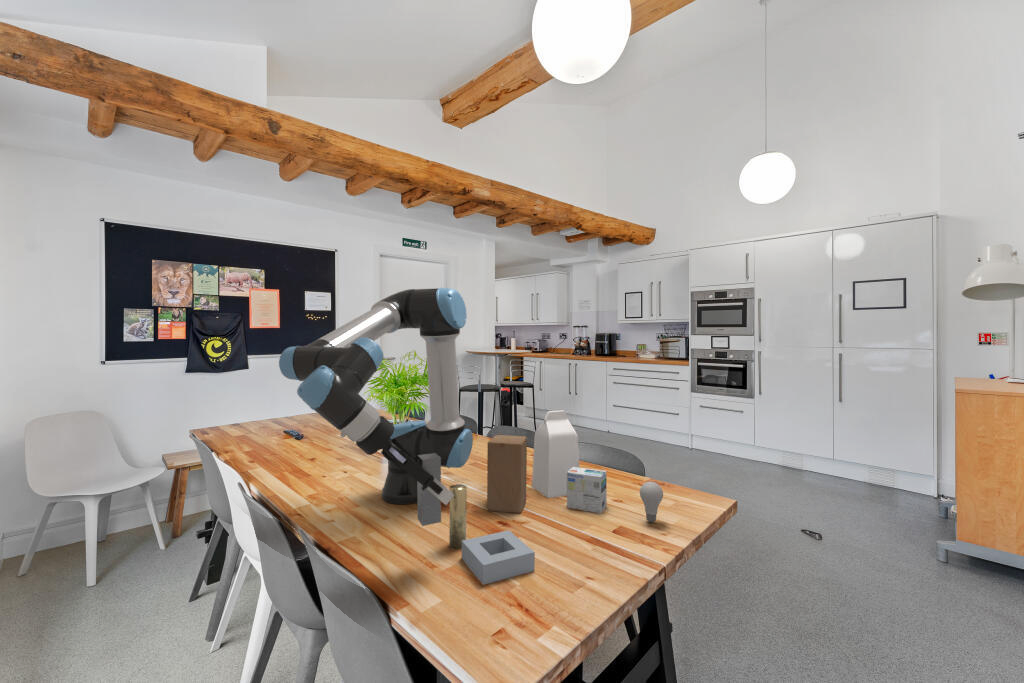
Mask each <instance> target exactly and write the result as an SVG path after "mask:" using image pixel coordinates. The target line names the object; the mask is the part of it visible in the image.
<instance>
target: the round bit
mask: <svg viewBox="0 0 1024 683" xmlns="http://www.w3.org/2000/svg"><path fill="white" fill-rule="evenodd" d="M467 488H468V487H467V486H466V485H464V484H452V485H450V486H449V491H451V492H452V493H453V494H454V496H453V497H452V498H451V500H450V501H449V532H448V533H449V536H448V537H449V538H448V539H449V548H450V549H451V550H462V541H463V540H467V493H468V492H467Z"/></svg>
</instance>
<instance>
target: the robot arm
mask: <svg viewBox="0 0 1024 683" xmlns="http://www.w3.org/2000/svg"><path fill="white" fill-rule="evenodd" d="M466 320H467V307H466V304H465V301H464V298H463V296H462V295H461V294H460V292H459V291H457V289H454V288H448V287H447V288H446V287H445V288H444V287H438V288H436V287H435V288H419V289H418V288H417V289H415V288H412V289H411V288H410V289H404V290H402V291H397V292H396V293H393V294H391V295H388V296H387V297H385V298H383V299H381V300H379V301H377V302H375V303H374V304H373V305H372V306H371V308H370V310H368V311H366V312H365V313H363V314H361V315H359V316H358V317H356V318H354V319H352V320H350V321H348V322H347V323H345V324H343V325H342V326H340V327H338V328H336V329H333V330H331V332H329V333H327V334H325V335H323V336H321V337H320V338H317V339H315V340H314V341H311V342H310V343H308V344H307V345H303V346H301V345H296V346H289V347H286V348H285V349H283V351H282V352H281V354H280V355H279V359H278V368H279V370H280V373H281V375H283V376H284V377H285V378H286V379H289V380H295V381H299V382H301V383H300V384H299V386H298V387H297V390H296V393H297V396H298V397H299V398H300V399H301V400H302V401H303V402H304V403H305V404H306V405H307V406H308V407H309V409H311V410H313V411H315V412H316V413H317V414H318V415H320V416H321V417H322V418H323V419H325V421H327V422H328V423H329V424H331V425H332V427H333V428H336V429H337V430H338V431H339V432H341V433H340V438H345V437H347V438H348V439H349V440H350V441H351V442H353V443H354V442H355V444H356V447H358V448H359V449H361V451H363V453H366V454H367V455H368V456H369V455H371V456H372V455H374V454H376V453H377V452H378V451H379V450H381V452H380V453H381V455H382V456H383V457H384V458H385V459H386V460H387V474H386V478H385V481H384V485H383V487H382V490H381V498H382V500H383V501H384V502H386V503H390V504H393V505H409V504H415V503H417V481H418V482H419V483H420V484H422V485H423V487H422V488H421V489H422V490H423V491H424V490H425V488H426V489H427V490H429V491H430V492H431V493H432V494H433V495H434V496H436V497H437V498H438V499H439V500H440V501H441V503H443V504H444V505H445V506H447V505H448V504H449V503H450V500H451V498H452V497H453V496H454V494H453V493H452V492H451V491H450V489H448V487H447V486H446V485H444V483H443V482H441V483H440V482H439V481H438V480H437V479H436V478H434V477H433V476H432V475H430V474H429V473H428V472H426V471H425V470H424V469H423V468H422V467H421V466H420V465H418V464H417V455H423V454H431V453H436V454H437V455H438V456H440V457H441V468H442V467H443V468H447V469H451V468H453V469H457V468H458V469H459V468H462V467H463V466H464V465H466V463H467V462H468V460H469V458H470V455H471V453H472V450H473V449H472V448H473V444H474V441H473V440H474V438H473V437H474V436H473V433H472V430H471V429H469V428H466V424H465V423H466V422H465V420H464V419H463V418H462V417H461V416H460V406H459V405H460V404H459V402H460V401H459V387H458V370H457V369H458V368H457V350H456V348H457V347H456V339H457V338H458V336H459V335H461V329H463V328H464V327H465V325H466ZM402 329H419V336H420V337H421V338H422V339H423V340H424V341H425V348H426V350H425V352H426V366H427V380H428V381H427V382H428V396H429V412H430V419H429V420H428V422H427V421H426V420H421V419H418V420H410V421H402V422H399V423H396V424H392V423H391V422H390V420H388V419H387V418H386V417H385V416H383V415H382V416H381V412H380V411H378V410H377V409H376V408H375V407H374V406H373V405H371V404H370V403H369V402H368V401H367V400H366V399H364V397H362V395H360V392H361V391H362V389H363V388H364V387H365V385H366V384H367V383H368V382H369V381H370V379H371V378H372V376H374V374H375V373H376V372H377V371H378V369H379V367H380V365H381V363H383V361H384V352H383V350H382V347H381V346H380V345H379V344H378V343H377V342H376V340H378V339H380V338H381V337H382V336H384V335H386V334H392V333H395V332H396V331H398V330H402Z"/></svg>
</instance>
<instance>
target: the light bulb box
mask: <svg viewBox="0 0 1024 683" xmlns="http://www.w3.org/2000/svg"><path fill="white" fill-rule="evenodd" d="M607 501H608V500H607V470H601V469H595V468H594V469H593V468H583V467H579V468H578V467H572V468H571V469H570V470H569V471H568V472H567V495H566V508H567V509H572V510H573V509H575V510H579V511H585V512H591V513H597V514H602V513H603V512H604V510H605V509H606V507H607Z"/></svg>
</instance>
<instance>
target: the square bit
mask: <svg viewBox="0 0 1024 683" xmlns="http://www.w3.org/2000/svg"><path fill="white" fill-rule="evenodd" d="M417 464H418V465H420V466H421V467H422V468H423V469H424V470H425V471H426V472H428V473H429V474H430V475H432V476H433V477H434V478H436V479H437V480H438V481H439V482H440V483H442V469H441V468H442V467H441V457H440V456H438V455H437V454H436V453H431V454H423V455H417ZM422 487H423V485H422V484H420V483H419V482H418V481H417V502H416V503H417V504H416V505H417V506H416V507H417V514H416V515H417V520H418V522H419V523H420V524H421V526H423V527H424V526H429V525H433V524H439V523H442V511H441V510H442V501H440V500H439V499H438V498H437V497H436V496H434V495H433V494H432V493H431V492H430V491H429V490H427V489H426V488H425V490H424V491H423V490H422V489H421V488H422Z"/></svg>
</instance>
